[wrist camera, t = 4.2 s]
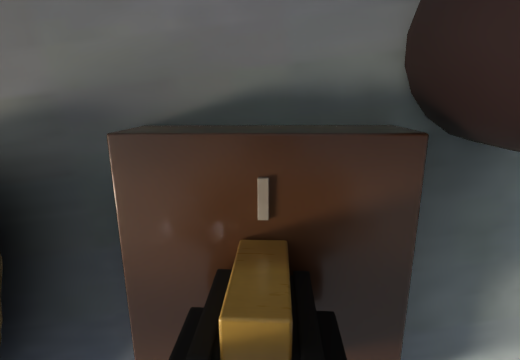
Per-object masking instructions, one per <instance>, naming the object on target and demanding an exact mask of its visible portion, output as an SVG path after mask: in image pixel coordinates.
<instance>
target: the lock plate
mask: <svg viewBox="0 0 520 360" xmlns="http://www.w3.org/2000/svg"><path fill="white" fill-rule="evenodd" d="M428 138H429V135H428V134H427V133H424V132H420V131H416V130H411V129H407V128H403V127H399V126H394V125H174V126H141V127H136V128H131V129H126V130H121V131H116V132H111V133H108V134H107V142H108V150H109V158H110V166H111V174H112V182H113V190H114V197H115V205H116V213H117V221H118V229H119V237H120V245H121V253H122V261H123V269H124V277H125V285H126V293H127V301H128V309H129V317H130V325H131V333H132V341H133V349H134V357H135V360H169V358H170V355H171V353H172V350H173V348H174V346H175V343H176V341H177V338H178V336H179V334H180V331H181V329H182V326H183V324H184V322H185V319H186V317H187V315H188V312H189V310H190V308H191V307H204V306H205V303H206V300H207V297H208V294H209V292H210V289H211V286H212V283H213V280H214V277H215V275H216V272H217V269H232V268H233V264H234V260H235V257H236V253H237V249H238V245H239V242H240V240H285V241H287V243H288V257H289V272H290V275H293V271H309V273H310V279H311V285H312V290H313V296H314V301H315V307H316V311H334V313H335V315H336V319H337V323H338V327H339V331H340V334H341V338H342V342H343V346H344V350H345V353H346V357H347V360H400V359H401V352H402V344H403V336H404V328H405V320H406V312H407V304H408V296H409V288H410V280H411V272H412V264H413V257H414V249H415V241H416V233H417V225H418V217H419V209H420V201H421V193H422V185H423V177H424V170H425V162H426V154H427V146H428Z"/></svg>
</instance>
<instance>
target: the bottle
mask: <svg viewBox="0 0 520 360" xmlns="http://www.w3.org/2000/svg"><path fill="white" fill-rule="evenodd" d="M405 69H406V73H407V77H408V82H409V86H410V90H411V94H412V95H413V97H414V98H415V100H416V101H417V103H418V104H419V106H420V108H421V109H422V111H423V112H424V114H425V115H426V117H427V118H429V119H430V120H431V121H433V122H434V123H435V124H437V125H438V126H439V127H441V128H442V129H443V130H445V131H446V132H447V133H449V134H451V135H454V136H458V137H461V138H464V139H467V140H471V141H474V142H478V143H482V144H487V145H491V146H495V147H500V148H504V149H509V150H513V151H518V152H520V0H421V1H420V3H419V5H418V8H417V11H416V13H415V16H414V18H413V21H412V24H411V26H410V29H409V31H408V34H407V43H406V56H405Z"/></svg>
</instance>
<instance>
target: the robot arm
mask: <svg viewBox="0 0 520 360" xmlns="http://www.w3.org/2000/svg"><path fill="white" fill-rule="evenodd" d="M231 271H232V269H217V272H216V275H215V277H214V280H213V283H212V286H211V289H210V292H209V294H208V297H207V300H206V303H205V306H204V307H191V308H190V310H189V312H188V315H187V317H186V319H185V322H184V324H183V326H182V329H181V331H180V334H179V336H178V338H177V341H176V343H175V346H174V348H173V350H172V353H171V355H170V358H169V360H220V341H219V316H220V312H221V309H222V305H223V301H224V297H225V294H226V290H227V286H228V283H229V279H230V275H231ZM290 287H291V303H292V318H293V334H292V360H347V357H346V353H345V350H344V346H343V342H342V338H341V334H340V331H339V327H338V323H337V319H336V315H335V313H334V311H316V307H315V301H314V296H313V290H312V285H311V279H310V273H309V271H293V275H290Z"/></svg>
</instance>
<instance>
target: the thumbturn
mask: <svg viewBox="0 0 520 360" xmlns="http://www.w3.org/2000/svg"><path fill="white" fill-rule="evenodd" d="M292 334H293V318H292V303H291V287H290V272H289V257H288V243H287V241H285V240H240V242H239V245H238V249H237V253H236V257H235V260H234V264H233V268H232V271H231V275H230V279H229V283H228V286H227V290H226V294H225V297H224V301H223V305H222V309H221V312H220V316H219V341H220V360H292Z"/></svg>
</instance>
